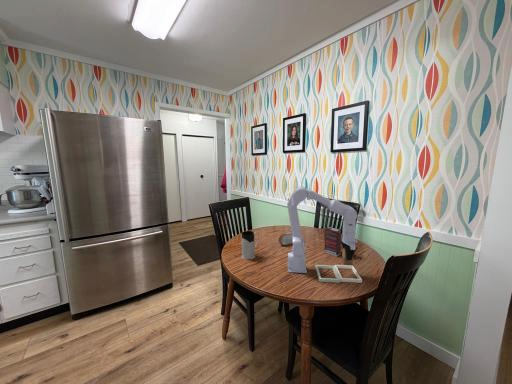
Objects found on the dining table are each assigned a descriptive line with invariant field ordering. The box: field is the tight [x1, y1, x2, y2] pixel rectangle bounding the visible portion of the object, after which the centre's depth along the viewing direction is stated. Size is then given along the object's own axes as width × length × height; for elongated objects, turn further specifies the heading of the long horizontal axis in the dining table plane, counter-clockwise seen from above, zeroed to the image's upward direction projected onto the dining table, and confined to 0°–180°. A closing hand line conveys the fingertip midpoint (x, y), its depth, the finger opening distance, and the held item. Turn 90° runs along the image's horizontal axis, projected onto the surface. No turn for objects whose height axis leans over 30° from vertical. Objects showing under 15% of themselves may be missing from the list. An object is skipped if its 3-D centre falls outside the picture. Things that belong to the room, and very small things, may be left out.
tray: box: [333, 264, 363, 284], centre depth 105 cm, size 10×14×2 cm
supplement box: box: [324, 226, 342, 257], centre depth 129 cm, size 9×5×16 cm, turn 40°
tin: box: [278, 231, 293, 246], centre depth 146 cm, size 15×3×8 cm, turn 120°
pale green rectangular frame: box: [314, 264, 341, 284], centre depth 105 cm, size 10×14×2 cm
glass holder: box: [241, 230, 260, 260], centre depth 129 cm, size 9×14×15 cm, turn 137°
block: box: [341, 247, 354, 266], centre depth 104 cm, size 4×4×7 cm
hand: (347, 257), depth 104 cm, fingers closed on block, 4 cm apart
